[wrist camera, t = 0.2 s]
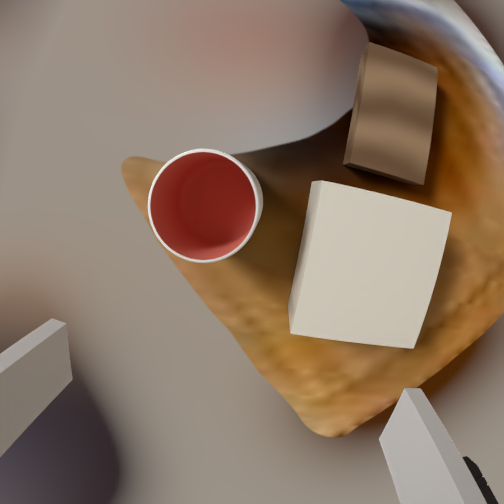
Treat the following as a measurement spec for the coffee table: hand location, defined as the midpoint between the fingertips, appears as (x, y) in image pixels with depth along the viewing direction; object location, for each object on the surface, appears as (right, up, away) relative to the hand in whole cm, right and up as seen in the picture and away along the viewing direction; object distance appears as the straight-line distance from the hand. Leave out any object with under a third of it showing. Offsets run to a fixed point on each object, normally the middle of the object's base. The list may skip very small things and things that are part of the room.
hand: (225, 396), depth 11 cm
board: (+17, +21, +23) cm, 36 cm away
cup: (-3, +11, +26) cm, 29 cm away
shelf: (+13, +5, +26) cm, 30 cm away
